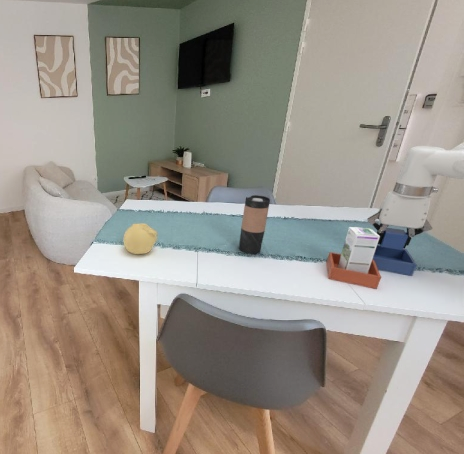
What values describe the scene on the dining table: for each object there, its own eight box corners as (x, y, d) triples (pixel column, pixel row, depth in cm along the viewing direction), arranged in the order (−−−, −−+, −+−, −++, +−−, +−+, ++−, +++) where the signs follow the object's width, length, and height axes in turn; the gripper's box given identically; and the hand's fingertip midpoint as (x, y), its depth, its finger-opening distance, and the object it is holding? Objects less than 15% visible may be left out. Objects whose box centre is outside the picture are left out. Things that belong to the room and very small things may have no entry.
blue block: (398, 244, 93) (404, 229, 91) (402, 250, 90) (408, 235, 88) (377, 240, 96) (383, 227, 94) (380, 247, 92) (386, 232, 90)
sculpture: (161, 251, 110) (162, 224, 106) (137, 261, 104) (137, 233, 100) (141, 241, 119) (141, 216, 115) (118, 249, 113) (117, 224, 109)
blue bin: (402, 259, 97) (406, 249, 95) (412, 276, 88) (416, 264, 86) (359, 252, 102) (362, 242, 101) (364, 267, 94) (368, 256, 92)
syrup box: (366, 279, 87) (382, 235, 81) (342, 276, 88) (356, 233, 83) (358, 269, 92) (372, 227, 86) (335, 267, 93) (348, 226, 88)
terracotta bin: (370, 270, 92) (374, 259, 90) (376, 289, 83) (381, 277, 82) (326, 262, 97) (329, 251, 96) (328, 278, 89) (332, 267, 87)
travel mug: (262, 255, 103) (272, 202, 96) (238, 253, 106) (246, 201, 98) (259, 246, 110) (268, 195, 102) (237, 244, 113) (244, 194, 105)
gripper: (448, 189, 84) (423, 245, 91) (371, 183, 93) (354, 235, 100) (458, 197, 78) (431, 256, 85) (375, 189, 87) (357, 244, 94)
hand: (390, 244), depth 93 cm, fingers closed on blue block, 5 cm apart
